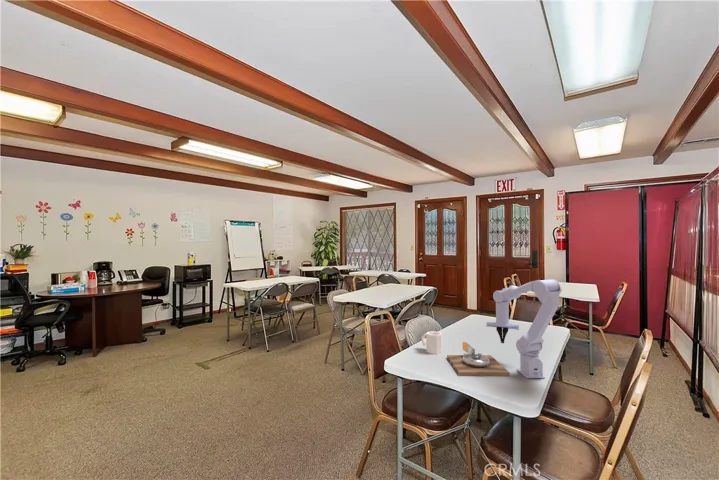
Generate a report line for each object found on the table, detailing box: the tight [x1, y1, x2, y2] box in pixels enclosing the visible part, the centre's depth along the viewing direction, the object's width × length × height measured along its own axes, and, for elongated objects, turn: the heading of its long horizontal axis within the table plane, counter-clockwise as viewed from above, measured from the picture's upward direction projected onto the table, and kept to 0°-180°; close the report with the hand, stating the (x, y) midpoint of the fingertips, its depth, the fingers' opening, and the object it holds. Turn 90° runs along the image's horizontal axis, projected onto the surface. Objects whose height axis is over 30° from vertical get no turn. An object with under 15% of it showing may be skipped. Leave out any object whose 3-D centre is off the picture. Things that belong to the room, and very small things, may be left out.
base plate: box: [446, 354, 511, 377], centre depth 152 cm, size 22×22×2 cm
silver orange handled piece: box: [462, 341, 490, 367], centre depth 156 cm, size 20×12×6 cm, turn 5°
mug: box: [420, 330, 443, 355], centre depth 174 cm, size 12×9×10 cm
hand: (502, 342), depth 158 cm, fingers closed
